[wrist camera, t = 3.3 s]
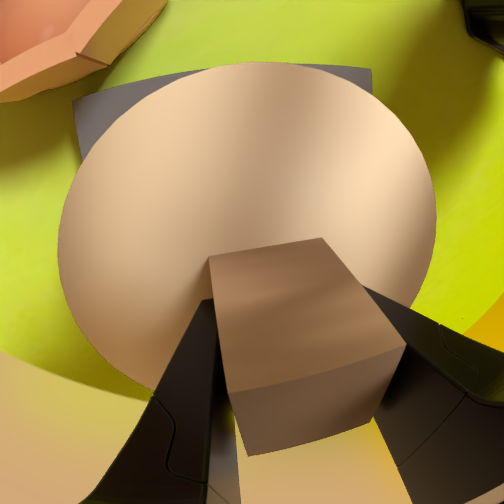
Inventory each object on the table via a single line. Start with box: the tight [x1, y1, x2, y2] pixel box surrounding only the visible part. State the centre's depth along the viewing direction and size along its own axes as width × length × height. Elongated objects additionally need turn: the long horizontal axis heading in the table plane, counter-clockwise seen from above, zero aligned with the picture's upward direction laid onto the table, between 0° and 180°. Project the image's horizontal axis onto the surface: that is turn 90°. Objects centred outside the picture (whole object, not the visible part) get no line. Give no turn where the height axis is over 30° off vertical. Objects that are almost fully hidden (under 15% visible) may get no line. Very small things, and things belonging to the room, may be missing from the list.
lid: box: [58, 62, 437, 456], centre depth 7 cm, size 12×12×5 cm
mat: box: [72, 64, 372, 161], centre depth 13 cm, size 13×13×1 cm
